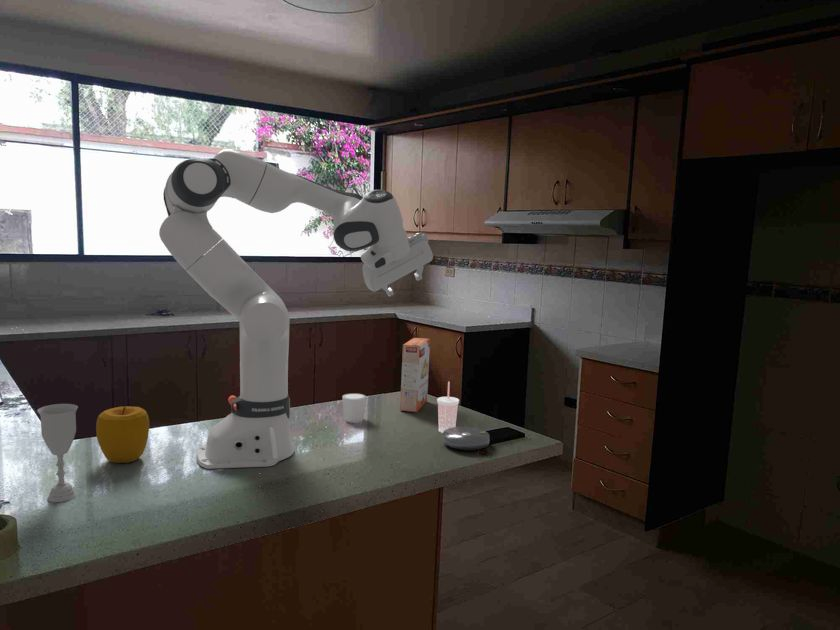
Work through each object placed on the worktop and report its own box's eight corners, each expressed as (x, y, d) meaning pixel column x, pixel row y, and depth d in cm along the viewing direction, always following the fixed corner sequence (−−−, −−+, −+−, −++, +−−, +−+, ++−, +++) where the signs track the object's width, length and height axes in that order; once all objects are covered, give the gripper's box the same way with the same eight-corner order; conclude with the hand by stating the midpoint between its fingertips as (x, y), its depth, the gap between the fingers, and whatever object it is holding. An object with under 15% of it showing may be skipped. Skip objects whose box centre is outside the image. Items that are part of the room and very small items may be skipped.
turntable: (454, 455, 151) (455, 443, 151) (435, 439, 162) (435, 428, 162) (497, 450, 155) (497, 439, 155) (476, 435, 166) (476, 424, 166)
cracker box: (418, 413, 185) (420, 345, 182) (399, 411, 187) (401, 344, 184) (428, 401, 199) (430, 338, 196) (410, 399, 200) (412, 336, 197)
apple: (98, 473, 133) (96, 416, 132) (96, 456, 143) (93, 403, 141) (153, 464, 139) (151, 409, 137) (147, 449, 148) (145, 398, 146)
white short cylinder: (364, 423, 174) (364, 399, 173) (340, 422, 174) (340, 398, 173) (366, 416, 181) (367, 393, 180) (343, 415, 181) (344, 392, 180)
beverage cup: (460, 429, 172) (462, 380, 170) (454, 435, 166) (456, 385, 164) (439, 426, 174) (441, 378, 172) (433, 432, 168) (434, 382, 166)
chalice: (87, 497, 122) (83, 409, 119) (49, 507, 116) (44, 416, 114) (73, 486, 126) (70, 401, 124) (36, 496, 121) (31, 408, 119)
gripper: (419, 225, 167) (429, 265, 176) (355, 259, 161) (369, 298, 170) (431, 233, 162) (441, 274, 171) (365, 269, 157) (379, 309, 165)
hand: (404, 286), depth 170 cm, fingers open, 8 cm apart
